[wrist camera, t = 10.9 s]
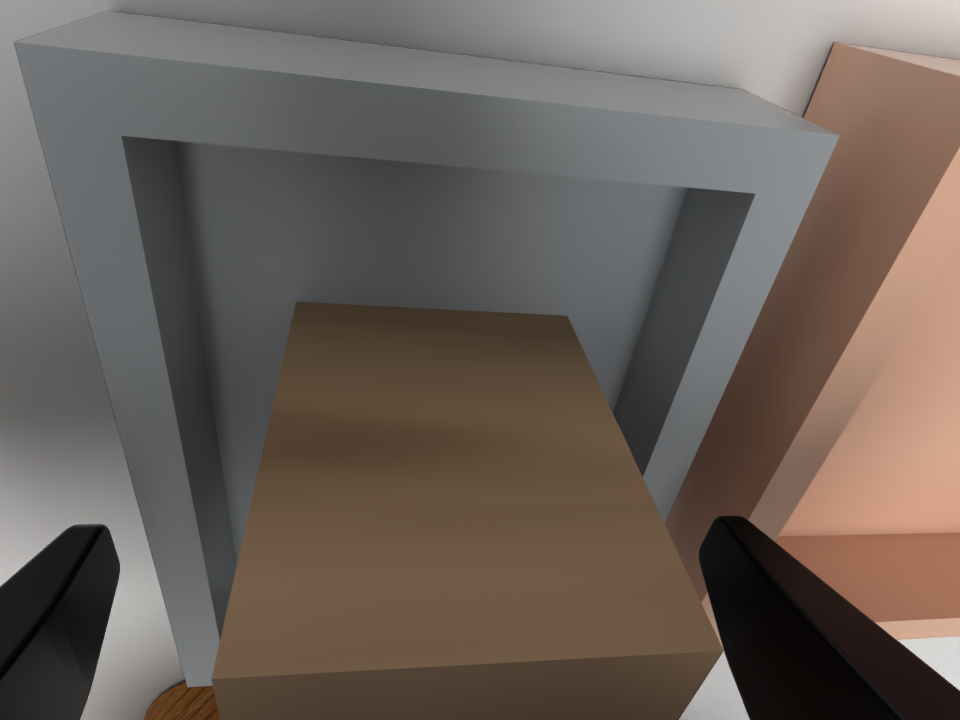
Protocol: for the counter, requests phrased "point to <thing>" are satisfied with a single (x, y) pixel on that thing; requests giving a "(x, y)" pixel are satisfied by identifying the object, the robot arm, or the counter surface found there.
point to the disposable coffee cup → (185, 704)
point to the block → (452, 535)
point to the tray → (389, 238)
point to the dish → (856, 361)
